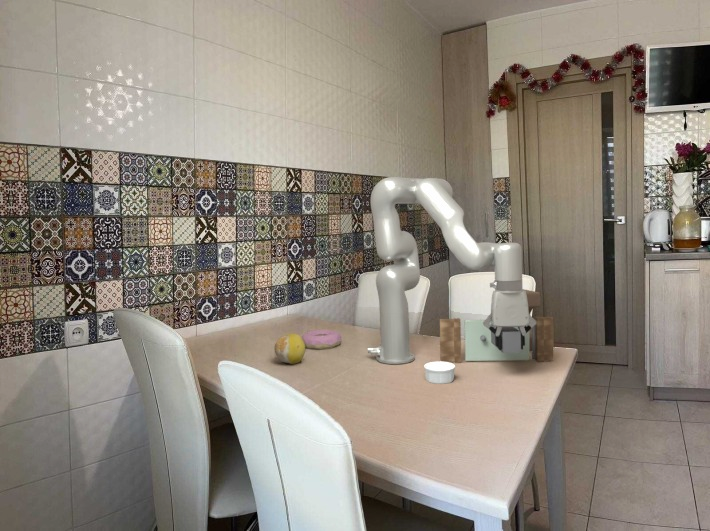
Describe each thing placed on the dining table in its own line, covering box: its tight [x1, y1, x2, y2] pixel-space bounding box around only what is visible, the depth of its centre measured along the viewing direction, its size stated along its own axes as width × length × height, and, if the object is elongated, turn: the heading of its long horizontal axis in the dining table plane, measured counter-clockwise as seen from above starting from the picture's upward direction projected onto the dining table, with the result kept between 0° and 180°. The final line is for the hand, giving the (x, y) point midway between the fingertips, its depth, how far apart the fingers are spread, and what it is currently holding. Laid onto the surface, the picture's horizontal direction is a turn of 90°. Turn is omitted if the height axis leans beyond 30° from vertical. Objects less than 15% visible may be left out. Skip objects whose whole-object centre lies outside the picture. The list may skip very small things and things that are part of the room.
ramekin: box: [423, 360, 456, 385], centre depth 150 cm, size 9×9×4 cm
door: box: [464, 318, 536, 362], centre depth 165 cm, size 22×3×13 cm, turn 85°
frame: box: [439, 316, 554, 364], centre depth 166 cm, size 35×2×14 cm, turn 85°
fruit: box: [274, 333, 306, 365], centre depth 173 cm, size 10×11×10 cm
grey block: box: [491, 323, 521, 353], centre depth 154 cm, size 5×13×6 cm, turn 0°
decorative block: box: [523, 288, 541, 352], centre depth 182 cm, size 11×6×20 cm, turn 17°
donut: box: [300, 329, 343, 350], centre depth 196 cm, size 16×15×5 cm
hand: (510, 347), depth 150 cm, fingers closed on grey block, 5 cm apart
